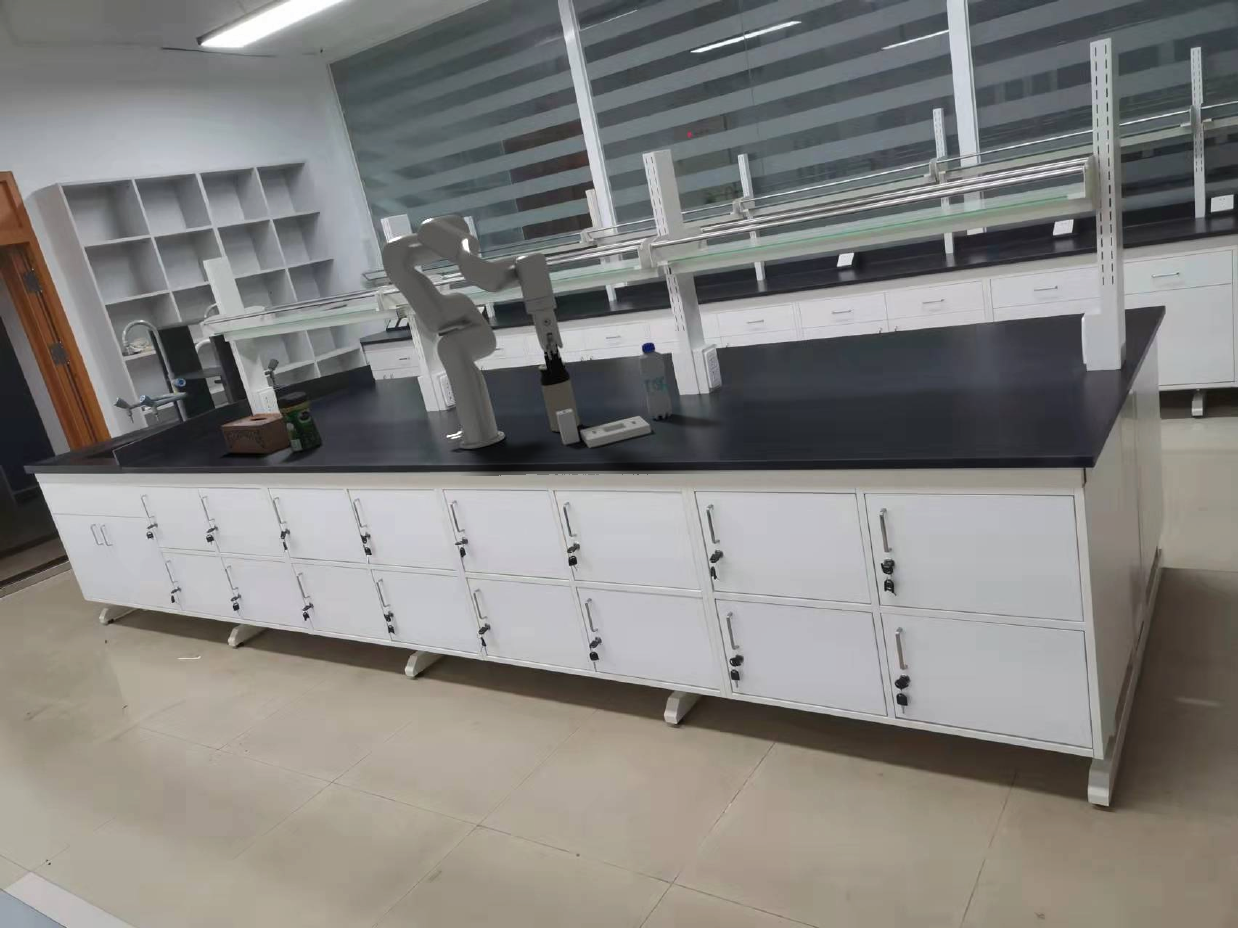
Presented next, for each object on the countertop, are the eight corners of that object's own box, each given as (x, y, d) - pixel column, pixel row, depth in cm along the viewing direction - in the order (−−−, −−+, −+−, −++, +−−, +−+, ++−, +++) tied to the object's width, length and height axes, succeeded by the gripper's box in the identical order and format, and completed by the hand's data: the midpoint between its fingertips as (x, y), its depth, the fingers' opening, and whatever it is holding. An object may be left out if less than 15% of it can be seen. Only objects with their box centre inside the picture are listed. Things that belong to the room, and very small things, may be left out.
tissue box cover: (229, 453, 310) (220, 426, 307) (265, 440, 321) (257, 413, 318) (269, 453, 294) (259, 425, 291) (305, 439, 305) (297, 412, 302)
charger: (564, 444, 225) (557, 414, 223) (562, 441, 229) (555, 411, 226) (579, 441, 225) (572, 410, 223) (577, 437, 229) (570, 408, 227)
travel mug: (553, 434, 238) (539, 369, 233) (550, 428, 246) (535, 365, 241) (582, 427, 239) (568, 363, 234) (577, 421, 247) (564, 359, 242)
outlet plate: (589, 447, 217) (587, 439, 216) (581, 437, 228) (579, 429, 228) (651, 432, 219) (649, 424, 219) (640, 423, 231) (639, 415, 230)
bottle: (656, 413, 237) (642, 341, 231) (678, 412, 233) (664, 338, 228) (644, 421, 232) (629, 347, 226) (666, 420, 228) (652, 344, 222)
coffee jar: (311, 443, 295) (294, 390, 290) (326, 443, 290) (310, 388, 285) (287, 453, 287) (270, 398, 282) (303, 452, 283) (285, 397, 278)
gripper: (560, 303, 210) (575, 373, 214) (550, 299, 226) (565, 364, 231) (529, 310, 209) (545, 380, 213) (522, 305, 225) (537, 370, 230)
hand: (555, 371), depth 222 cm, fingers open, 9 cm apart
